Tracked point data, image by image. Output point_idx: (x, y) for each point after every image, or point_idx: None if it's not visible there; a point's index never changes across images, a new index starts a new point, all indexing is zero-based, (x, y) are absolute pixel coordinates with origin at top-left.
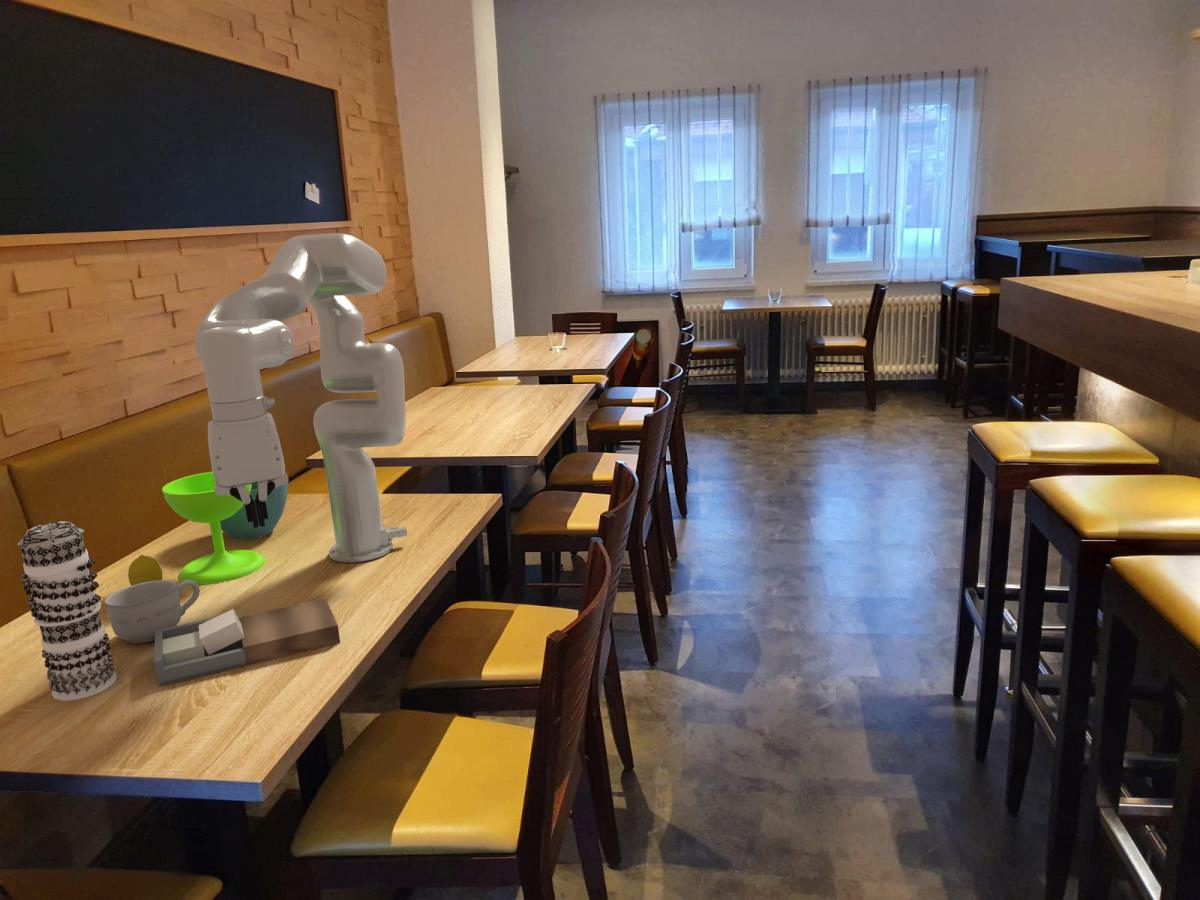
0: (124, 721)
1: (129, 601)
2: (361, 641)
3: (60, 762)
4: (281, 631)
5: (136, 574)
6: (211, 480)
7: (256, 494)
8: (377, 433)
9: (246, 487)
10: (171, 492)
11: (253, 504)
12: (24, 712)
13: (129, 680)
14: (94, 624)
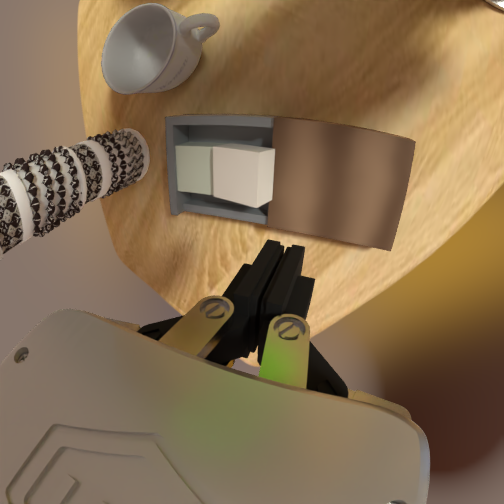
0: (168, 248)
1: (135, 23)
2: (407, 254)
3: (141, 273)
4: (322, 214)
5: None
6: None
7: (262, 339)
8: None
9: (206, 356)
10: None
11: (247, 354)
12: None
13: (160, 168)
14: (94, 190)
